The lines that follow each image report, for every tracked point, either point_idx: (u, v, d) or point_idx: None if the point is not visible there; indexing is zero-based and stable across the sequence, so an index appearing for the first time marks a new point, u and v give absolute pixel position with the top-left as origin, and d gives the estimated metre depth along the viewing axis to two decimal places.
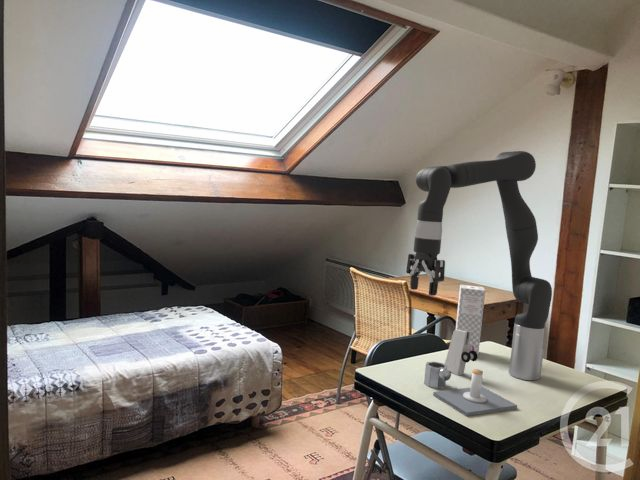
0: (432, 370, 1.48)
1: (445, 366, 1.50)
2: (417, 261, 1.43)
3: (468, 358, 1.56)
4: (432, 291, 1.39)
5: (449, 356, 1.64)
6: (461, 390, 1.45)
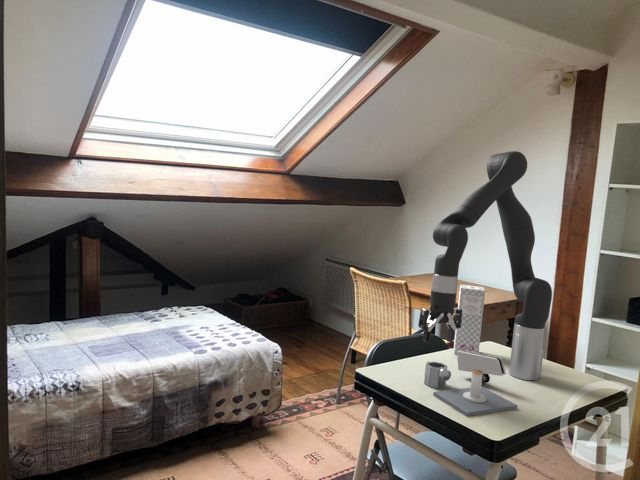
0: (432, 370, 1.48)
1: (445, 366, 1.50)
2: (442, 315, 1.47)
3: None
4: (453, 338, 1.51)
5: (469, 357, 1.56)
6: (461, 390, 1.45)
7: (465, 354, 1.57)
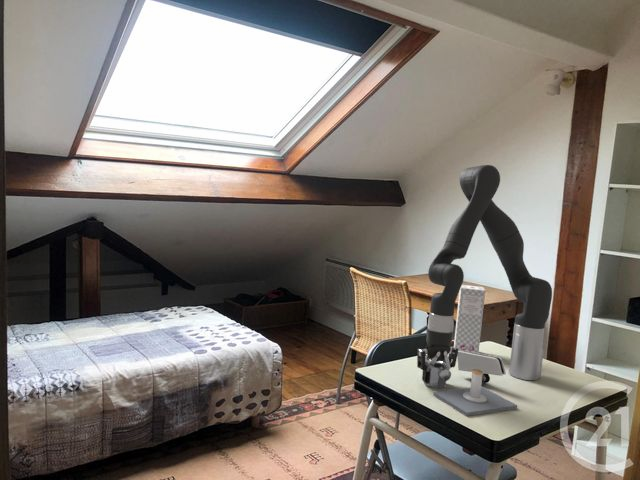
0: (432, 370, 1.48)
1: (445, 366, 1.50)
2: (438, 354, 1.48)
3: None
4: None
5: (469, 357, 1.56)
6: (461, 390, 1.45)
7: (465, 354, 1.57)
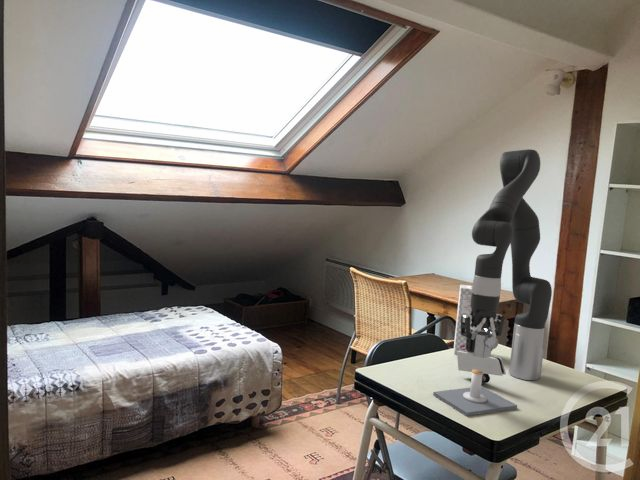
0: (477, 338, 1.36)
1: (491, 334, 1.38)
2: (484, 320, 1.36)
3: None
4: None
5: (469, 357, 1.56)
6: (461, 390, 1.45)
7: (465, 354, 1.57)
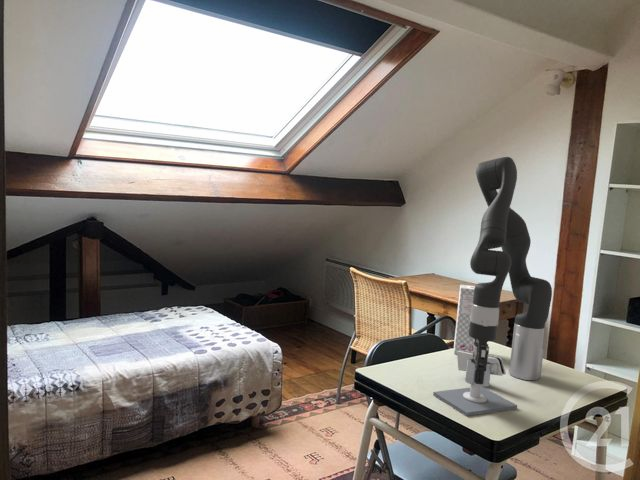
0: None
1: None
2: (488, 349, 1.37)
3: None
4: None
5: (469, 357, 1.56)
6: (461, 390, 1.45)
7: (465, 354, 1.57)
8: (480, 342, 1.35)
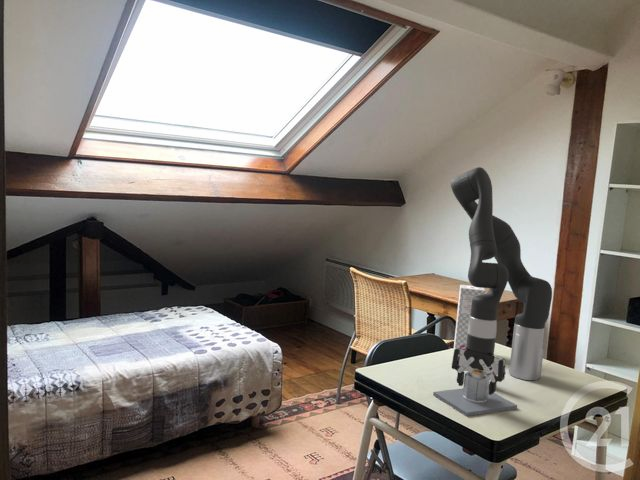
0: None
1: (471, 372, 1.42)
2: None
3: None
4: None
5: None
6: (461, 390, 1.45)
7: None
8: (492, 355, 1.36)
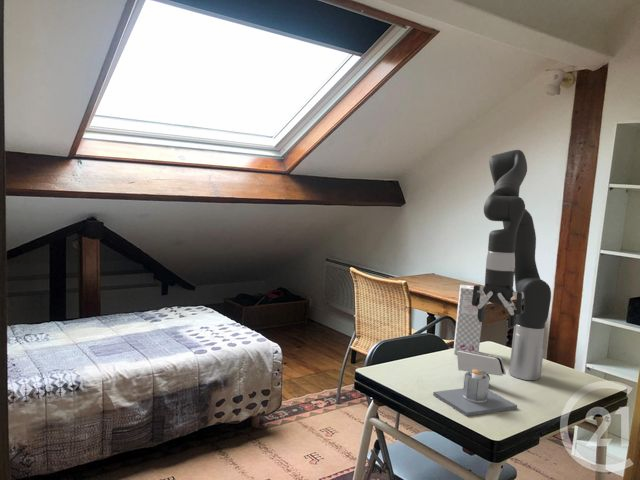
0: None
1: (471, 372, 1.42)
2: None
3: None
4: None
5: (469, 357, 1.56)
6: (461, 390, 1.45)
7: (465, 354, 1.57)
8: (510, 288, 1.35)
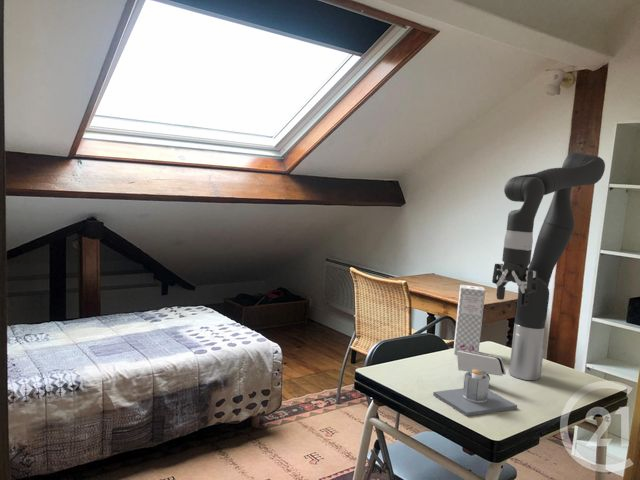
0: None
1: (471, 372, 1.42)
2: None
3: None
4: None
5: (469, 357, 1.56)
6: (461, 390, 1.45)
7: (465, 354, 1.57)
8: (523, 267, 1.38)
